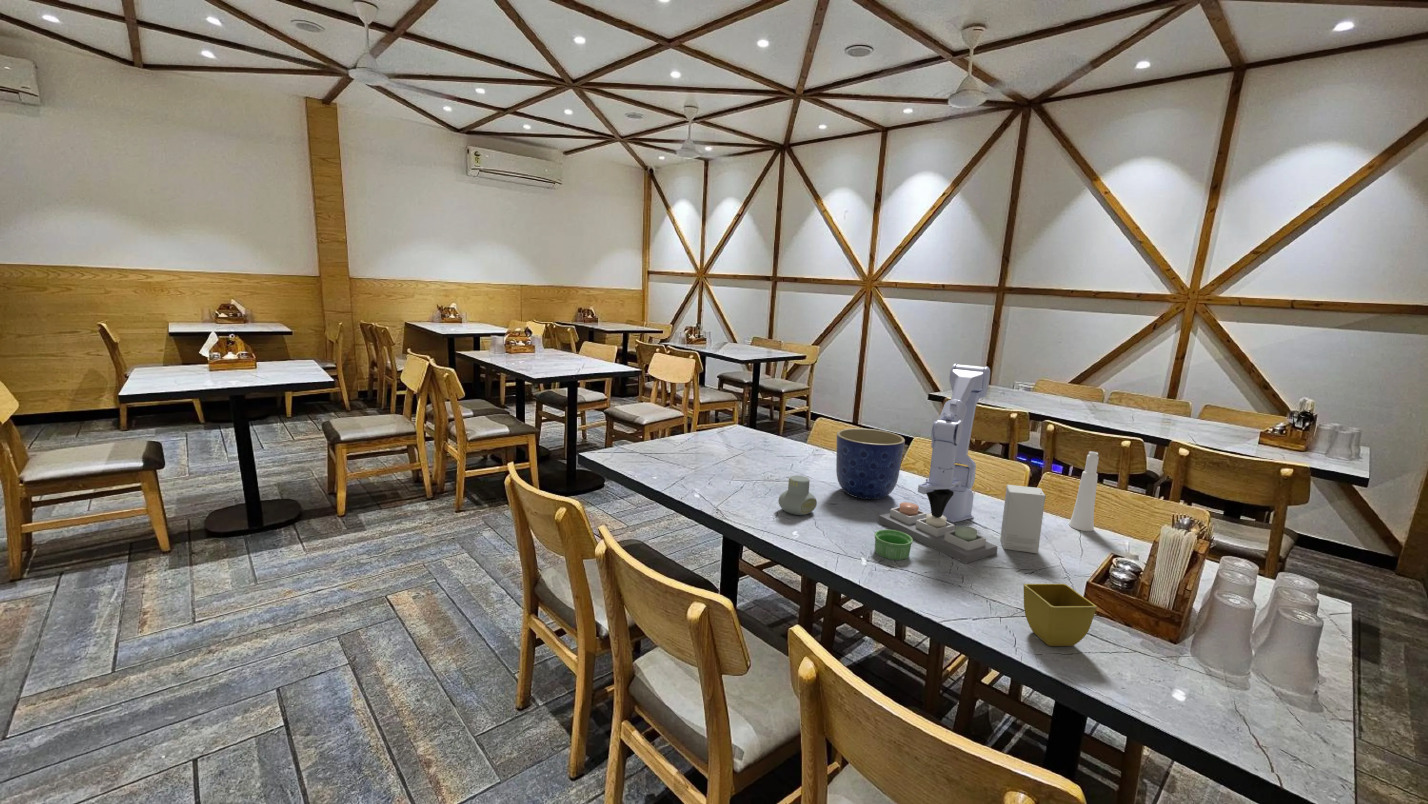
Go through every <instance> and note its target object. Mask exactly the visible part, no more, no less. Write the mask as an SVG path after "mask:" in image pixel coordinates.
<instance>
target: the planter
mask: <svg viewBox="0 0 1428 804" xmlns="http://www.w3.org/2000/svg"><path fill="white" fill-rule="evenodd" d="M905 442H906V439H905V438H904V437H903V436H902V435H899V434H896V433H894V432H890V431H886V430H879V429H873V428H858V427H857V428H845V429H840V430H839V431H837V433H836V459H835V461H836V469H835V471H836V472H835V473H836V479H837V482H838V484H839V486H840V488H841V489H842V490H843V491H844V492H845V493H846V494H848V495H850V496H853V497H854V498H859V499H862V500H863V499H864V500H879V499H883V498H885V497H887V496H889V495H890V494H891V493H892V492H893V491H894V489H895V487H896V485H897V483H898V481H899V477H900V472H901V471H900V470H901V464H902V459H903V455H904V454H903V453H904V448H905V444H906V443H905Z"/></svg>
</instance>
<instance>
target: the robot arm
mask: <svg viewBox="0 0 1428 804" xmlns="http://www.w3.org/2000/svg"><path fill="white" fill-rule="evenodd" d="M949 370H950V371H949V376H948V377H949V378H948V379H949V380H948V381H949V384H950V389H951V391H952V394H951V399H949V400H947V401H945V403H944V405H943V407H942V410H941V413H940V415H939V418H938V419H937V420H935V421H934V422H933V424H932V427H931V433H930V434H931V448H932V452H931V457H930V458H931V459H930V468H929V476H928V477H926V478H925V482H922V483H921V484H918V486H917V493H919V494H921V495H926V496H927V499H928V501H929V506H930V513H932V516H935V517H937V518H939V517H941V516H942V515H943V516H945V517H946V518H947V519H946V521H947V522H949V523H952V524H954V523H958V522H962V521H965V520H969V519H974V515H972V514H973V513H972V512H973V504H974V498H975V497H974V492H973V490H972V488H973V486H974V484H975V480H976V469H977V464H976V462H975V461H974V460H973V459H972V458H971V457H970V456H969V454H968V452H969V448H970V443H971V442H970V441H971V435H972V430H973V425H974V420H975V413H976V407H977V405H978V402H979V400H980V399H982V398H985V397H986V396H987V394H988V390H989V384H990V379H991V369H990V367H989V366H979V365H968V364H959V363H954V364H953V365H951V367H950V369H949Z"/></svg>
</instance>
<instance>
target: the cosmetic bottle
mask: <svg viewBox="0 0 1428 804" xmlns="http://www.w3.org/2000/svg"><path fill="white" fill-rule="evenodd" d="M1099 459H1100V457H1099V452H1096V451H1088V454H1087V455H1086V459H1085V460H1086V461H1085V467H1084V470H1083V471H1082V473H1081V477H1080V481H1079V486H1078V491H1077V495H1076V501H1075V504H1074V507H1073V512H1072V515H1071V518H1070V520H1069V523H1068V525H1069V527H1070V528H1072V529H1075V530H1078V531H1082V532H1092V531H1094V530H1095V524H1094V523H1095V522H1094V520H1095V519H1094V518H1095V516H1094V515H1095V503H1096V495H1097V487H1098V476H1099V474H1098V472H1097V469H1098V466H1099Z"/></svg>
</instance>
